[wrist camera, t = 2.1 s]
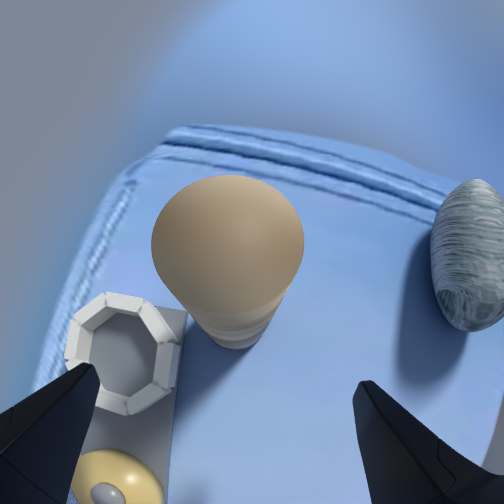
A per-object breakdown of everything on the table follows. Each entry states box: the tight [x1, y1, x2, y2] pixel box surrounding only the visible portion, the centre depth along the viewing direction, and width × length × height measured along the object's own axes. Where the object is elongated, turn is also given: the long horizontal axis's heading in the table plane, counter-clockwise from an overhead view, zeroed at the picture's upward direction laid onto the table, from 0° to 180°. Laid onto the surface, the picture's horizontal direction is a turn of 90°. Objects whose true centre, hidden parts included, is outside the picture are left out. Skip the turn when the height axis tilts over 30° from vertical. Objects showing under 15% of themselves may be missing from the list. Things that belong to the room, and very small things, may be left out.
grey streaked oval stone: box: [430, 179, 504, 332], centre depth 19 cm, size 14×10×10 cm
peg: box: [151, 175, 304, 350], centre depth 14 cm, size 4×4×13 cm
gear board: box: [64, 292, 188, 504], centre depth 14 cm, size 20×8×4 cm, turn 174°
